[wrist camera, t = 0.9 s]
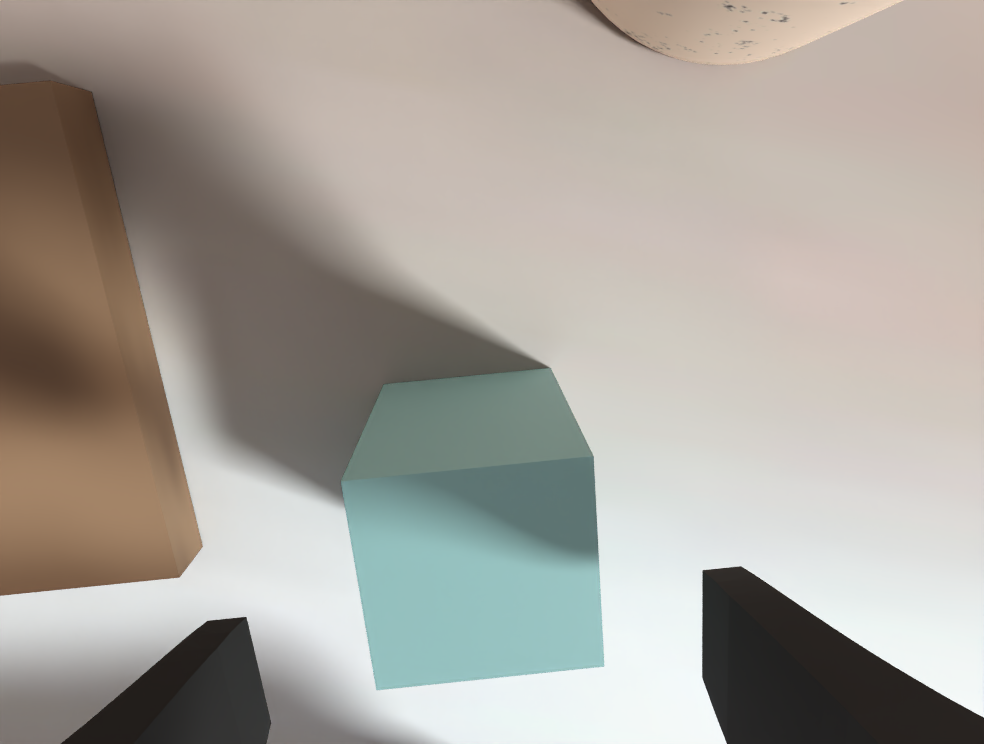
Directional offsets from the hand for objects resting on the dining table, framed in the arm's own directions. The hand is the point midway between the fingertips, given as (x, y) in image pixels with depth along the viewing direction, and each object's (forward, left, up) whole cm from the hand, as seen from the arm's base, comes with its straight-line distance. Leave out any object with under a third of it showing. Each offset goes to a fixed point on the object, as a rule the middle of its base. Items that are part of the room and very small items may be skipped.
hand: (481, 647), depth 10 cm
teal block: (0, 0, -8) cm, 8 cm away
